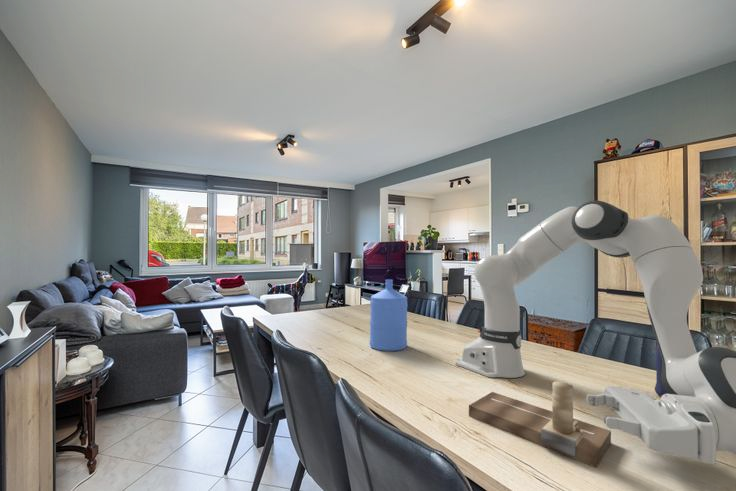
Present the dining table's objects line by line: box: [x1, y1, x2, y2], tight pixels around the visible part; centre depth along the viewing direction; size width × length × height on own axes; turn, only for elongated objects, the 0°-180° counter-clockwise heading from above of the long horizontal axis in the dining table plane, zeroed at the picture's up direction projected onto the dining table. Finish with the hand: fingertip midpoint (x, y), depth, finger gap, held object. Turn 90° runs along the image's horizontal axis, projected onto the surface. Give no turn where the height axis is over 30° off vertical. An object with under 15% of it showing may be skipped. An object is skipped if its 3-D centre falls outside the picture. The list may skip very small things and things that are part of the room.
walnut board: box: [468, 391, 612, 468], centre depth 75 cm, size 26×12×3 cm, turn 43°
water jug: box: [369, 278, 408, 352], centre depth 140 cm, size 16×16×28 cm
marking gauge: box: [541, 381, 583, 456], centre depth 67 cm, size 6×6×12 cm
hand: (595, 409), depth 66 cm, fingers open, 8 cm apart
